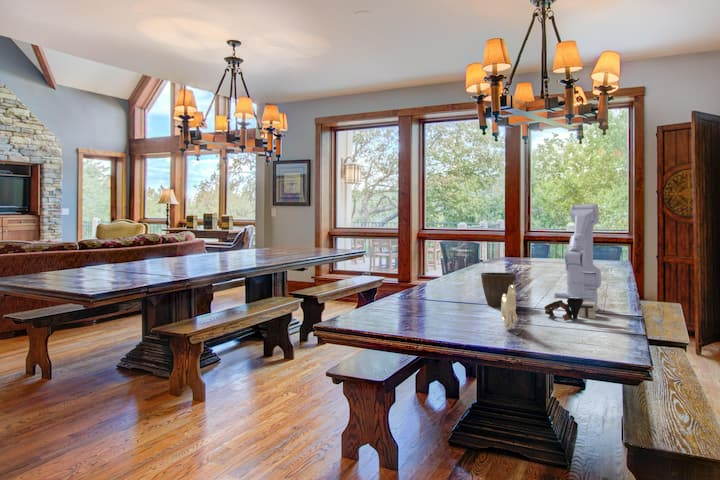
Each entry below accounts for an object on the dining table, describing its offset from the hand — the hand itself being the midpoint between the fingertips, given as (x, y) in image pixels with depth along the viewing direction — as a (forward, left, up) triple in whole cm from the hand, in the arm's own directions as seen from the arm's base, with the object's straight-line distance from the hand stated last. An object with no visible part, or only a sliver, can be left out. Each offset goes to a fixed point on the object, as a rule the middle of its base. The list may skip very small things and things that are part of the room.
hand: (575, 318), depth 184 cm
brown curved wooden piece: (-1, -3, -2) cm, 4 cm away
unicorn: (+27, -16, -1) cm, 32 cm away
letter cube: (-11, +2, -1) cm, 11 cm away
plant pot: (-12, -34, -1) cm, 36 cm away
